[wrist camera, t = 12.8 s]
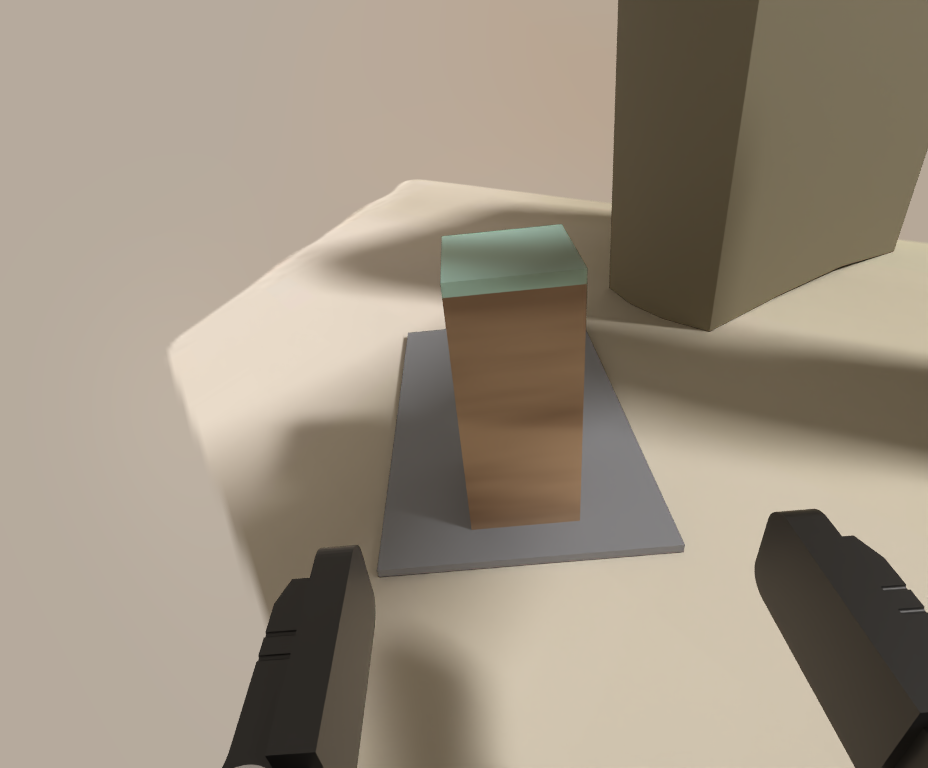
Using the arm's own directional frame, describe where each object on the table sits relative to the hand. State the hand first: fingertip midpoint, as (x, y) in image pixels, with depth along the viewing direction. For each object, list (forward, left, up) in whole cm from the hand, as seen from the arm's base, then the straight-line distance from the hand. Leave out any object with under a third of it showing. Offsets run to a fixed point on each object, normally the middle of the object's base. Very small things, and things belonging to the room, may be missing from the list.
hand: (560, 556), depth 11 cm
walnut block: (-9, -6, -9) cm, 14 cm away
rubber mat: (-14, -9, -9) cm, 19 cm away
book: (-38, -1, -9) cm, 39 cm away
